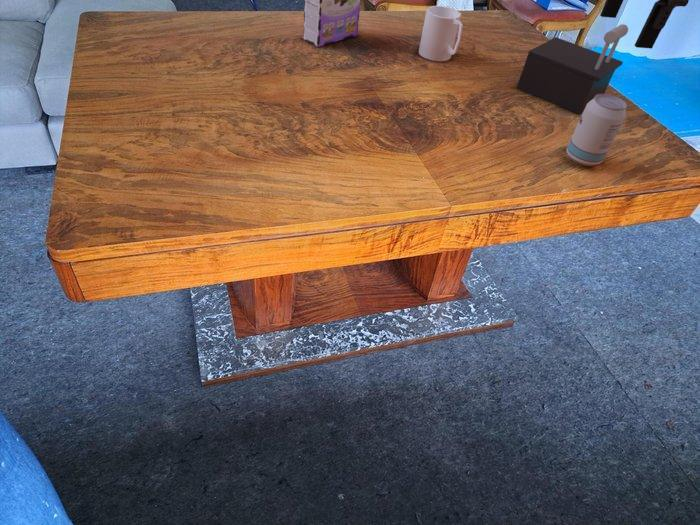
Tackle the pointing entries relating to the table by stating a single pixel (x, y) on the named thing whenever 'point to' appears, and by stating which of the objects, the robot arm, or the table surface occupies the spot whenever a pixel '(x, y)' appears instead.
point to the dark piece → (560, 84)
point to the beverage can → (596, 129)
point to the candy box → (330, 20)
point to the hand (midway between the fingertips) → (624, 31)
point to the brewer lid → (582, 55)
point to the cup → (440, 33)
